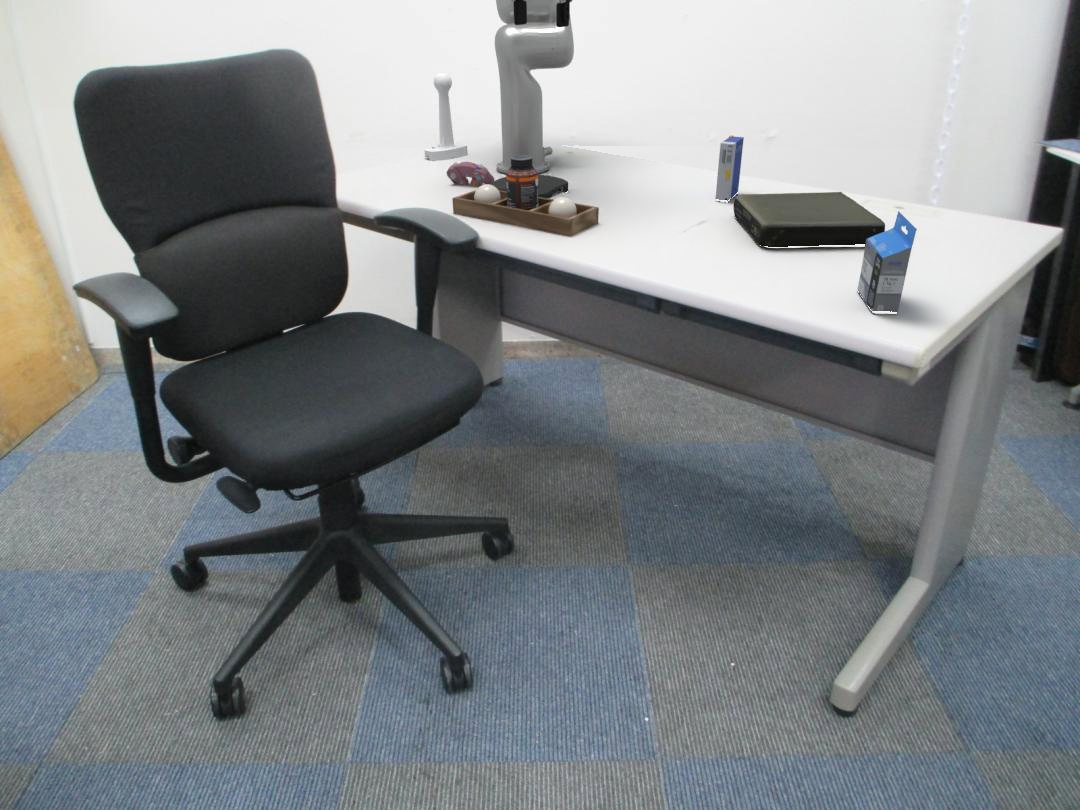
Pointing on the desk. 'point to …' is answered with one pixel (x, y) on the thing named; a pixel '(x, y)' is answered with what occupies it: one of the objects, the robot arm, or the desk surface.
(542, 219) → the holder
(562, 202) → the egg
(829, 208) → the network switch
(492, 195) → the egg
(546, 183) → the media streaming box
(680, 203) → the desk surface
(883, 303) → the grey and blue box
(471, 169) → the video game controller
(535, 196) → the supplement bottle
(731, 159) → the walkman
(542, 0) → the robot arm
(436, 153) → the joystick
